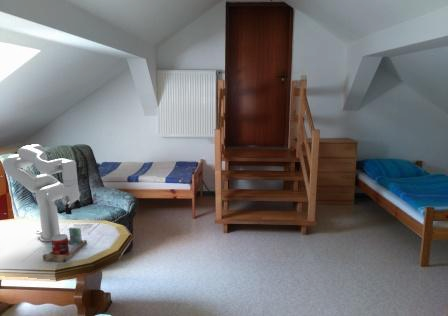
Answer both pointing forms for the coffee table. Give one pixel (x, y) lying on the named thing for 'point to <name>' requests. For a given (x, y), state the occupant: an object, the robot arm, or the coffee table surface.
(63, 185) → the robot arm
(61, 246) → the canned food
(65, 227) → the coffee table surface
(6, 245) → the coffee table surface
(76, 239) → the wooden rectangular frame
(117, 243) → the coffee table surface
